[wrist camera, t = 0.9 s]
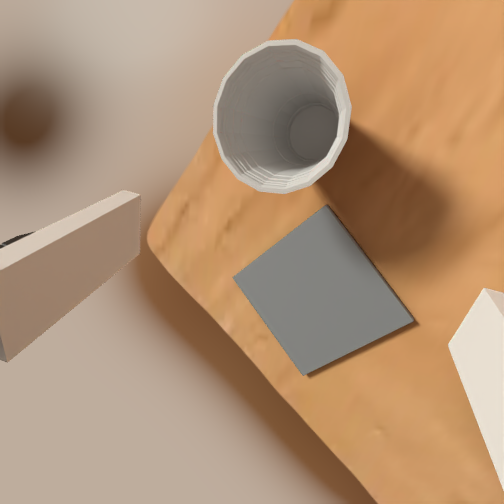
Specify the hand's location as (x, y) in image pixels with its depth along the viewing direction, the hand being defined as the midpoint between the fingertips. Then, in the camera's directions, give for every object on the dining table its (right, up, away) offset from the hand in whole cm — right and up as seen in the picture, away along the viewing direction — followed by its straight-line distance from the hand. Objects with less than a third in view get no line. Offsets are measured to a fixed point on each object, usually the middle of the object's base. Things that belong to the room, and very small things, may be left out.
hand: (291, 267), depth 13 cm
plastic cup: (+5, +13, +22) cm, 26 cm away
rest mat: (+6, -4, +26) cm, 27 cm away
